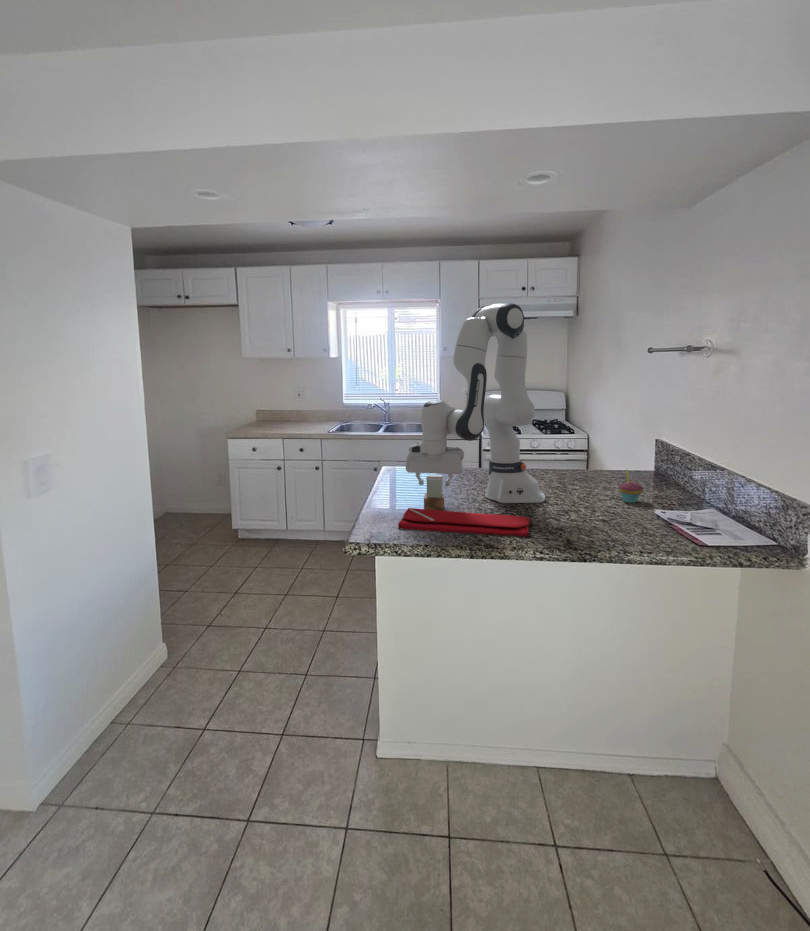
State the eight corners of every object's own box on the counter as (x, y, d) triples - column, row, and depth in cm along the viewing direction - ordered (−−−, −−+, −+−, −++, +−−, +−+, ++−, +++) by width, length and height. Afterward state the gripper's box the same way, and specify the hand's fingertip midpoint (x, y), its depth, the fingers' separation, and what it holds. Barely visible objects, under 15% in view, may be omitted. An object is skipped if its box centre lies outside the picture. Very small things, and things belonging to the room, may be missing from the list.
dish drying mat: (528, 538, 168) (529, 527, 167) (397, 530, 178) (397, 519, 177) (529, 522, 183) (530, 512, 182) (408, 516, 192) (408, 505, 192)
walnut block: (444, 506, 202) (444, 493, 201) (443, 512, 195) (443, 498, 194) (425, 506, 203) (425, 493, 202) (424, 512, 196) (423, 498, 195)
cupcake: (614, 501, 205) (616, 469, 202) (623, 496, 211) (625, 465, 209) (637, 505, 199) (639, 472, 197) (646, 500, 205) (648, 468, 203)
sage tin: (442, 494, 200) (442, 475, 199) (441, 497, 195) (440, 478, 194) (428, 493, 201) (428, 474, 200) (426, 497, 196) (426, 477, 195)
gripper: (464, 445, 195) (464, 484, 198) (407, 444, 199) (408, 482, 202) (462, 449, 189) (462, 488, 192) (404, 447, 193) (404, 486, 196)
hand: (434, 485), depth 197 cm, fingers open, 8 cm apart
